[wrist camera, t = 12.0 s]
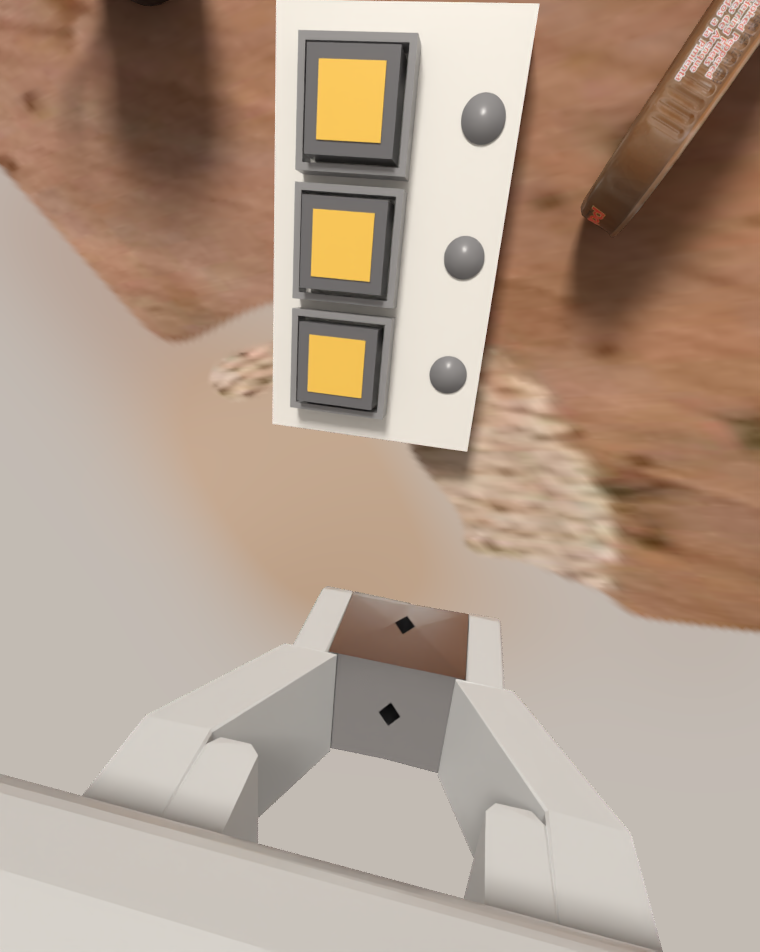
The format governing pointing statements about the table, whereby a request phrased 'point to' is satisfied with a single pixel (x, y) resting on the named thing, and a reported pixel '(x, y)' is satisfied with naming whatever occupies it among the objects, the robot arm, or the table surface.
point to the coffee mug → (149, 2)
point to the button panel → (406, 207)
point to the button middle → (345, 244)
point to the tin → (675, 111)
